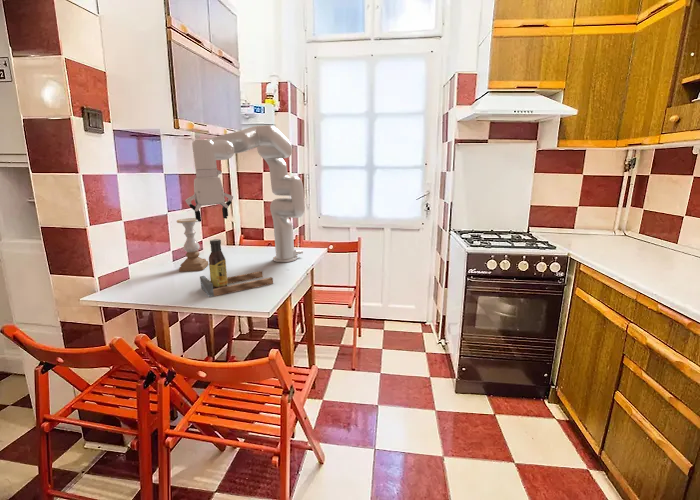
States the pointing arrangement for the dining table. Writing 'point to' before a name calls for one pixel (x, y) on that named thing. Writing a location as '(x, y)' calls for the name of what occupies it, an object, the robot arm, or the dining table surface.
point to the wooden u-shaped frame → (211, 292)
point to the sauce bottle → (217, 265)
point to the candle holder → (191, 248)
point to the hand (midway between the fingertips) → (212, 219)
